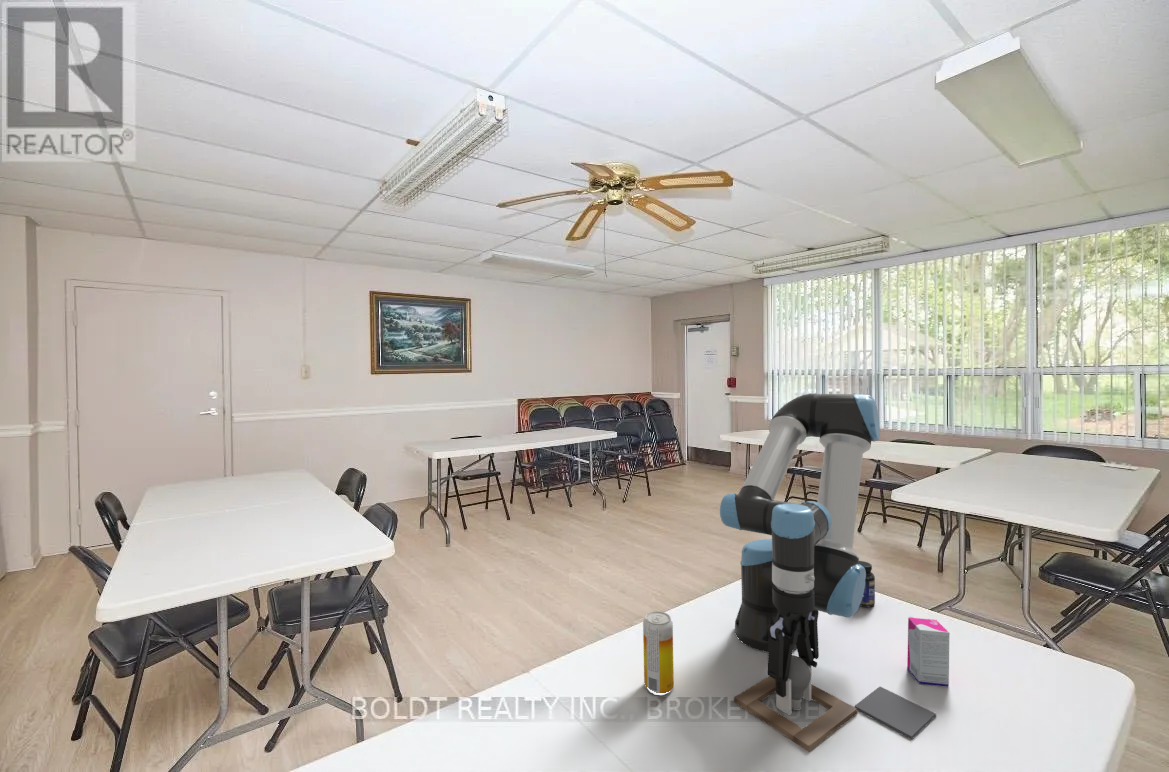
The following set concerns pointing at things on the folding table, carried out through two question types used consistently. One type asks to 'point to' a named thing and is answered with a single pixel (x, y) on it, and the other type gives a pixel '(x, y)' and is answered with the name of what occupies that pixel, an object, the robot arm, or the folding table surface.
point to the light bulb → (798, 680)
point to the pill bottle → (868, 586)
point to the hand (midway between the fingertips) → (794, 703)
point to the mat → (895, 712)
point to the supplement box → (928, 652)
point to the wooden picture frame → (802, 736)
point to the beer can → (658, 652)
